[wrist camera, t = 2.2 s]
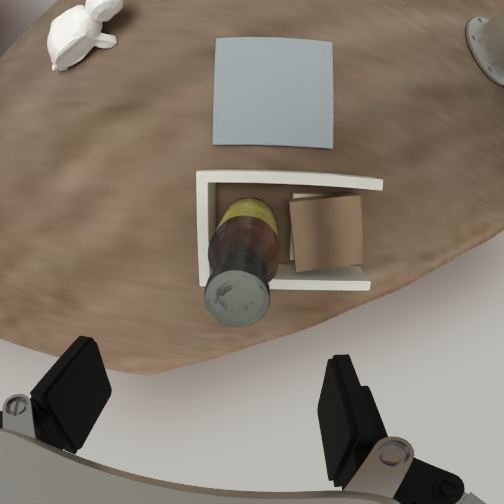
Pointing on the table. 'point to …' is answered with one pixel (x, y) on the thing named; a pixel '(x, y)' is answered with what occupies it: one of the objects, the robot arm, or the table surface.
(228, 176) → the rack
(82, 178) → the table surface
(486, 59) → the robot arm
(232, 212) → the sauce bottle
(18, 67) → the table surface
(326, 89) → the mat
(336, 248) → the walnut offcut
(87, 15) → the white animal figurine
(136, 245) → the table surface
